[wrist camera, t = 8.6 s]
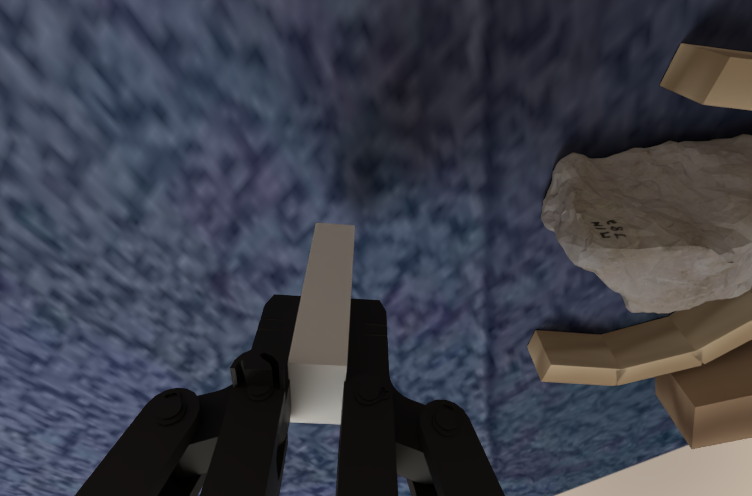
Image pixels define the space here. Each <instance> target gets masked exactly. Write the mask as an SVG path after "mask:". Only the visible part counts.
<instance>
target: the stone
mask: <svg viewBox="0 0 752 496" xmlns="http://www.w3.org/2000/svg"><path fill="white" fill-rule="evenodd" d="M541 209H542V214H541V220H542V222H543V223H544V225H545V227H546V228H547V229H549V230H551V231H553V232H555V233H556V235H555V236H556V238H557V241H558V242H559V243H560V244H561V246H562V247H563V249H564V251H565V252H566V254H567V256H568V258H569V259H570V260H571V261H572V262H573V263H574V265H576V266H579V267H581V268H583V269H584V270H588V271H592V272H594V273H595V274H596V275H597V276H598V277H599V278H600V279H601V280H602V281H603V282H604V283H605V284H606V285H607V286H608V287H609V288H610V289H612V290H613V291H614V292H618V293H620V294H621V295H622V298H623V300H624V302H625V306H626V308H627V309H628V310H629V311H630V312H632V313H639V312H646V313H651V312H655V313H658V314H659V313H671V312H673V311H681V310H685V309H687V310H689V309H690V308H692V307H695V306H699V305H700V304H702V303H704V302H705V301H713V300H717V299H725V298H728V299H731V298H735V297H738V296H740V295H742V294H743V293H745V292H747V291H749V290H750V289H751V287H752V135H746V134H741V135H739V136H736V137H733V138H728V139H713V140H710V141H683V142H679V143H677V142H673V141H668V142H665V143H663V144H660V145H658V146H653V147H649V148H632V149H629V150H627V151H624V152H621V153H619V154H614V155H612V156H609V157H607V158H594V159H592V158H587V157H586V156H585V155H582V154H578V153H571V154H569V155H567V156H566V157H564V158H562V159H561V160H560V161H559V162H558V163H557V165H556V167H555V169H554V171H553V173H552V182H551V185H550V188H549V190H548V192H547V195H546V198H545V199H544V200H543V207H542V208H541Z"/></svg>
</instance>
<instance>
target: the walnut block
mask: <svg viewBox="0 0 752 496" xmlns="http://www.w3.org/2000/svg"><path fill="white" fill-rule="evenodd" d="M655 387H656V395H657V397H658V398H659V400H660V402H661V403H662V405H663V406H664V408H665V409H666V411H667V412H668V414H669V415H670V417H671V418H672V420H673V421H674V423H675V424H676V426H677V428H678V429H679V431H680V432H681V434H682V435H683V437H684V438H685V440H686V441H687V443H688V444H689V446H690V447H691V449H695V448H700V447H706V446H711V445H716V444H721V443H726V442H731V441H736V440H742V439H747V438H752V340H750V341H748V342H746V343H744V344H742V345H740V346H738V347H736V348H735V349H733V350H731V351H729V352H727V353H725V354H723V355H721V356H719V357H717V358H716V359H714V360H712V361H710V362H708V363H706V364H703V363H702V365H701V366H697V367H693V368H689V369H685V370H680V371H676V372H672V373H668V374H664V375H660V376H655Z"/></svg>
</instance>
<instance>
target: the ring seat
mask: <svg viewBox="0 0 752 496" xmlns="http://www.w3.org/2000/svg"><path fill="white" fill-rule="evenodd" d="M659 86H662V87H664V88H666V89H668V90H671V91H673V92H675V93H677V94H680V95H682V96H684V97H686V98H689V99H691V100H693V101H695V102H698V103H700V104H702V105H710V106H718V107H727V108H735V109H744V110H752V52H745V51H737V50H729V49H722V48H714V47H706V46H699V45H691V44H683V43H681V44H680V46H679V48H678V50H677V52H676V54H675V56H674V58H673V60H672V62H671V64H670V66H669V68H668V70H667V72H666V74H665V76H664V78H663V80H662V82H661V83H660V85H659ZM750 340H752V287H751V289H750V290H749V291H747V292H745V293H743V294H742V295H740V296H738V297H735V298H731V299H728V298H725V299H717V300H713V301H705V302H704V303H702V304H700V305H699V306H695V307H692V308H690V309H689V310H687V309H685V310H681V311H676V312H674V313H673V314H671V315H670V316H668V317H664V318H661V319H657V320H653V321H649V322H646V323H642V324H638V325H635V326H631V327H627V328H623V329H620V330H616V331H612V332H609V333H605V334H601V335H599V334H584V333H570V332H555V331H541V330H535V332H534V334H533V336H532V338H531V340H530V342H529V344H528V346H527V347H528V350H529V352H530V355H531V357H532V360H533V362H534V365H535V367H536V370H537V372H538V375H539V377H540V380H541V381H542V382H559V383H576V384H593V385H609V386H615V385H616V384H617V386H618V385H622V384H626V383H630V382H634V381H639V380H643V379H647V378H651V377H655V376H660V375H664V374H668V373H672V372H676V371H680V370H685V369H689V368H693V367H697V366H701V365H702V363H703V364H706V363H708V362H710V361H712V360H714V359H716V358H717V357H719V356H721V355H723V354H725V353H727V352H729V351H731V350H733V349H735V348H736V347H738V346H740V345H742V344H744V343H746V342H748V341H750Z"/></svg>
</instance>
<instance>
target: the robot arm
mask: <svg viewBox="0 0 752 496" xmlns="http://www.w3.org/2000/svg"><path fill="white" fill-rule="evenodd" d="M354 232H355V226H353V225H340V224H327V223H316V225H315V230H314V235H313V240H312V245H311V250H310V255H309V260H308V265H307V270H306V275H305V280H304V285H303V289H302V294H301V296H290V295H275V294H274V295H273V297H272V298H271V299H270V300H269V301H268V302H267V303H266V304H265V306H264V309H263V312H262V316H261V320H260V322H259V326H258V330H257V332H256V336H255V339H254V342H253V346H252V349H251V350H250V351H247V352H245V353H243V354H241V355H240V356H239V357H238V358H237V359H235V360H234V362H233V364H232V366H231V367H230V371H231V377H232V382H233V384H232V385H230V386H229V387H227V388H225V389H222V390H219V391H216V392H212V393H208V394H203V395H199V396H196V394H195V393H194V392H192V391H190V390H188V389H184V388H174V389H170V390H166V391H164V392H162V393H160V394H158V395H156V396H155V397H154V398H153V399H152V400H150V401H149V402H148V403H147V404H146V405H145V407H144V408H143V409H142V411H141V412H140V413H139V414H138V416H137V417H136V418H135V419H134V421H133V422H132V423H131V425H130V426H129V427H128V428H127V430H126V431H125V432H124V434H123V435H122V436H121V437H120V439H119V440H118V441H117V442H116V444H115V445H114V446H113V448H112V449H111V450H110V451H109V453H108V454H107V455H106V456H105V458H104V459H103V460H102V462H101V463H100V464H99V465H98V467H97V468H96V469H95V470H94V472H93V473H92V474H91V476H90V477H89V478H88V479H87V481H86V482H85V483H84V484H83V486H82V487H81V488H80V490H79V491H78V492H77V493H76V495H75V496H197V495H198V493H199V492H200V490H201V488H202V486H203V488H202V491H201V494H200V496H279V493H280V487H281V481H282V475H283V469H284V463H285V457H286V451H287V445H288V433H287V432H288V426H289V421H290V422H297V423H320V424H340V439H339V450H338V467H337V482H336V496H398V485H397V474H398V475H400V476H403V477H405V478H407V482H408V485H409V489H410V492H411V495H412V496H505V495H504V493H503V491H502V488H501V486H500V484H499V482H498V480H497V478H496V476H495V473H494V471H493V469H492V467H491V465H490V463H489V460H488V458H487V456H486V454H485V452H484V450H483V447H482V445H481V443H480V441H479V439H478V437H477V434H476V432H475V430H474V428H473V426H472V424H471V421H470V419H469V417H468V416H467V415H466V413H465V412H464V410H463V409H462V408H460V407H459V406H458V405H457V404H455V403H453V402H450V401H447V400H434V401H432V402H429V403H428V404H427V405H424V404H421V403H418V402H416V401H413V400H410V399H408V398H406V397H404V396H403V395H401V394H400V393H399V392H398V391H397V390H396V389H395V388H394V386H393V385H392V383H391V380H390V376H389V361H388V339H387V318H386V311H385V309H384V307H383V305H382V304H381V302H380V300H366V299H351V286H352V268H353V250H354Z"/></svg>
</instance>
